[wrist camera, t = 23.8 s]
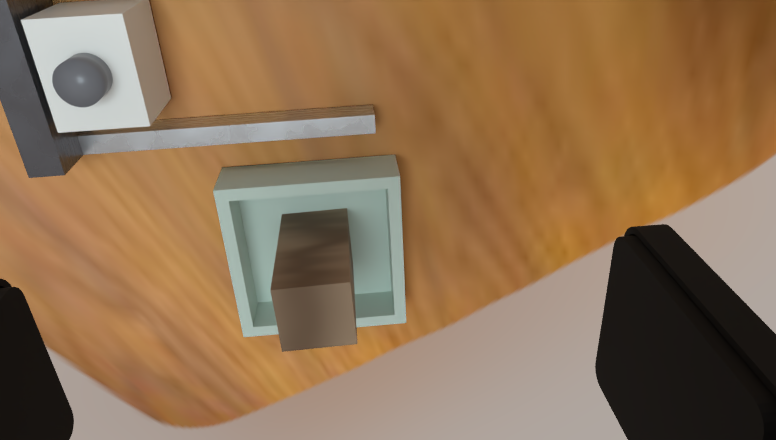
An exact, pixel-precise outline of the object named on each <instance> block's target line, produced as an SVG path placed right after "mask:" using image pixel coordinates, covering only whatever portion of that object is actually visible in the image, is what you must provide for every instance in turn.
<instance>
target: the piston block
mask: <svg viewBox="0 0 776 440" xmlns="http://www.w3.org/2000/svg"><path fill="white" fill-rule="evenodd" d="M21 22H22V25H23V28H24V32H25V35H26V38H27V41H28V44H29V47H30V50H31V53H32V56H33V59H34V62H35V65H36V68H37V71H38V74H39V77H40V80H41V83H42V86H43V89H44V92H45V95H46V98H47V101H48V104H49V107H50V110H51V114H52V117H53V120H54V123H55V126H56V129H57V132H58V133H63V132H77V131H91V130H105V129H119V128H133V127H147V126H151V125H152V123H153V122H154V121H155V119H156V118H157V117H158V115H159V114H160V113H161V111H162V110H163V109H164V107H165V106H166V105H167V103H168V102H169V101H170V99H171V95H170V91H169V86H168V82H167V77H166V73H165V69H164V64H163V60H162V55H161V51H160V47H159V42H158V38H157V33H156V29H155V24H154V20H153V16H152V11H151V7H150V2H149V0H95V1H79V2H63V3H58V4H56V5H53V6H51V7H49V8H47V9H44V10H42V11H40V12H37V13H35V14H33V15H31V16H28V17H26V18H24V19H22V20H21Z"/></svg>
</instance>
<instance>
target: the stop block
mask: <svg viewBox="0 0 776 440" xmlns="http://www.w3.org/2000/svg"><path fill="white" fill-rule="evenodd" d="M270 291H271V297H272V302H273V307H274V312H275V317H276V322H277V327H278V333H279V338H280V343H281V348H282V352H284V351H293V350H303V349H313V348H323V347H332V346H342V345H352V344H357V328H356V310H355V291H354V272H353V258H352V249H351V240H350V231H349V221H348V212H347V208H342V209H332V210H321V211H310V212H300V213H289V214H282V217H281V223H280V230H279V237H278V243H277V250H276V256H275V263H274V269H273V276H272V282H271V289H270Z"/></svg>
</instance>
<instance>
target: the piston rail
mask: <svg viewBox="0 0 776 440" xmlns="http://www.w3.org/2000/svg"><path fill="white" fill-rule="evenodd" d="M51 6H53V3H52V0H0V100H1V103H2V106H3V108H4V111H5V114H6V117H7V119H8V122H9V125H10V127H11V130H12V133H13V136H14V138H15V141H16V144H17V146H18V149H19V152H20V155H21V157H22V160H23V163H24V166H25V168H26V171H27V174H28V176H29V178H33V177H46V176H60V175H65V174H66V173H67V172H68V171H69V170H70V169H71V168H72V167H73V166H74V165H75V163H76V162H77V161H78V160H79V159H80V158H81V157H82V156H83V155H86V154H99V153H113V152H127V151H140V150H154V149H167V148H181V147H195V146H208V145H222V144H235V143H249V142H263V141H276V140H290V139H303V138H317V137H331V136H344V135H358V134H371V133H376V129H375V114H374V109H373V105H360V106H346V107H332V108H318V109H304V110H290V111H276V112H262V113H248V114H234V115H220V116H206V117H192V118H178V119H164V120H155V121H154V122H153V123H152V125H151V126H147V127H133V128H119V129H105V130H91V131H77V132H63V133H58V132H57V129H56V126H55V123H54V120H53V117H52V114H51V110H50V107H49V104H48V101H47V98H46V95H45V92H44V89H43V86H42V83H41V80H40V77H39V74H38V71H37V68H36V65H35V62H34V59H33V56H32V53H31V50H30V47H29V44H28V41H27V38H26V35H25V32H24V28H23V25H22V22H21V20H22V19H24V18H26V17H28V16H31V15H33V14H35V13H37V12H40V11H42V10H44V9H47V8H49V7H51Z"/></svg>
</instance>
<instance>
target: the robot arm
mask: <svg viewBox="0 0 776 440" xmlns="http://www.w3.org/2000/svg"><path fill="white" fill-rule="evenodd" d="M595 367H596V376H597V380H598V383H599V386H600V388H601V389H602V391H603V393H604V395H605V397H606V399H607V401H608V403H609V405H610V407H611V409H612V410H613V412H614V414H615V416H616V418H617V420H618V422H619V424H620V426H621V427H622V429H623V431H624V433H625V435H626V437H627V439H628V440H776V334H775V333H774V332H773V331H772V330H771V329H770V328H769V327H768V326H767V325H766V324H765V323H764V322H763V321H762V320H761V319H760V318H759V317H758V316H757V315H756V314H755V313H754V312H753V311H752V310H751V309H750V307H749V306H747V304H746V303H744V301H743V300H742V299H741V298H740V297H739V296H738V295H737V294H736V293H735V292H734V291H733V290H732V289H731V288H730V287H729V286H728V285H727V284H726V283H725V282H724V281H723V280H722V279H721V278H720V277H719V276H718V275H717V274H716V273H715V272H714V271H713V270H712V269H711V268H710V267H709V266H708V265H707V264H706V263H705V262H704V260H703V259H702V258H701V257H700V256H699V255H698V254H697V253H696V252H695V251H694V250H693V249H692V248H691V247H690V246H689V245H688V244H687V243H686V242H685V241H684V240H683V239H682V238H681V237H680V236H679V235H678V234H677V233H676V232H675V231H674V230H673V229H672V228H671V227H670V226H668V225H664V224H662V225H649V226H637V227H630V228H628V229H627V231H626V233H625V235H624V237H618V238H617V239H616V241H615V243H614V248H613V254H612V260H611V267H610V273H609V280H608V286H607V293H606V300H605V306H604V313H603V319H602V325H601V331H600V338H599V345H598V351H597V357H596V366H595ZM73 424H74V419H73V413H72V410H71V407H70V405H69V402H68V400H67V398H66V395H65V393H64V390H63V388H62V386H61V383H60V381H59V378H58V376H57V373H56V371H55V369H54V366H53V364H52V362H51V359H50V357H49V354H48V352H47V349H46V347H45V345H44V342H43V340H42V337H41V335H40V332H39V330H38V328H37V325H36V323H35V320H34V318H33V316H32V313H31V311H30V308H29V306H28V304H27V301H26V299H25V296H24V294H23V293H22V291H21V290H20V289H19V288H17V287H11V285H10V284H9V283H8V282H7V281H6V280H3V279H0V440H69V439H70V437H71V434H72V431H73Z"/></svg>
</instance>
